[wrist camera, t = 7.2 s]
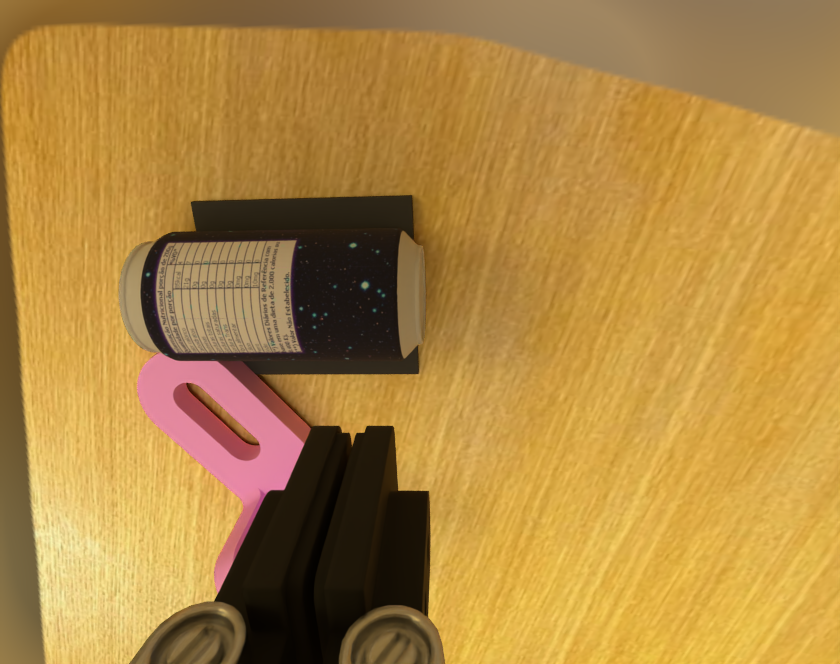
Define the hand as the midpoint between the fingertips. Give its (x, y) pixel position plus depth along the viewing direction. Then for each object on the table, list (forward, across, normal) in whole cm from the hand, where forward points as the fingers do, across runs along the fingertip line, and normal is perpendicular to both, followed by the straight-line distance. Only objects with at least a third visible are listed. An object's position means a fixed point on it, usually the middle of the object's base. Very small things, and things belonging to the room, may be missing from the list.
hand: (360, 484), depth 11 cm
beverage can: (+12, -1, 0) cm, 12 cm away
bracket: (+15, +9, +9) cm, 20 cm away
